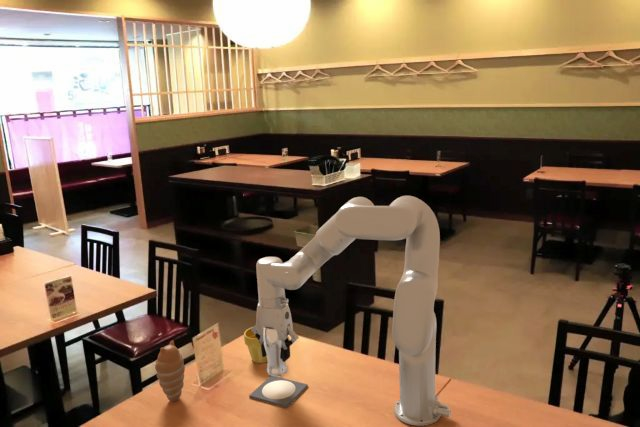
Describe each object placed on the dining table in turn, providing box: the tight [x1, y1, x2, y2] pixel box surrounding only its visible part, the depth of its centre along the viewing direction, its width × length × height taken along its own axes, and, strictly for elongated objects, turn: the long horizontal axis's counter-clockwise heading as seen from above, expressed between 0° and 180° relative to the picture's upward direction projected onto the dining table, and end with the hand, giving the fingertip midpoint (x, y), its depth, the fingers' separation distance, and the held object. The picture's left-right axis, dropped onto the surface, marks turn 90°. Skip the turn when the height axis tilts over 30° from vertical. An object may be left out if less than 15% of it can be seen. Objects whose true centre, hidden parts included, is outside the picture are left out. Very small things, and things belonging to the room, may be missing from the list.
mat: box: [248, 375, 309, 409], centre depth 157 cm, size 13×12×1 cm
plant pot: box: [243, 326, 268, 364], centre depth 177 cm, size 10×10×10 cm
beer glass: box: [263, 326, 288, 377], centre depth 154 cm, size 7×7×15 cm
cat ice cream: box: [154, 340, 186, 402], centre depth 154 cm, size 9×8×18 cm
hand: (276, 356), depth 155 cm, fingers closed on beer glass, 6 cm apart
